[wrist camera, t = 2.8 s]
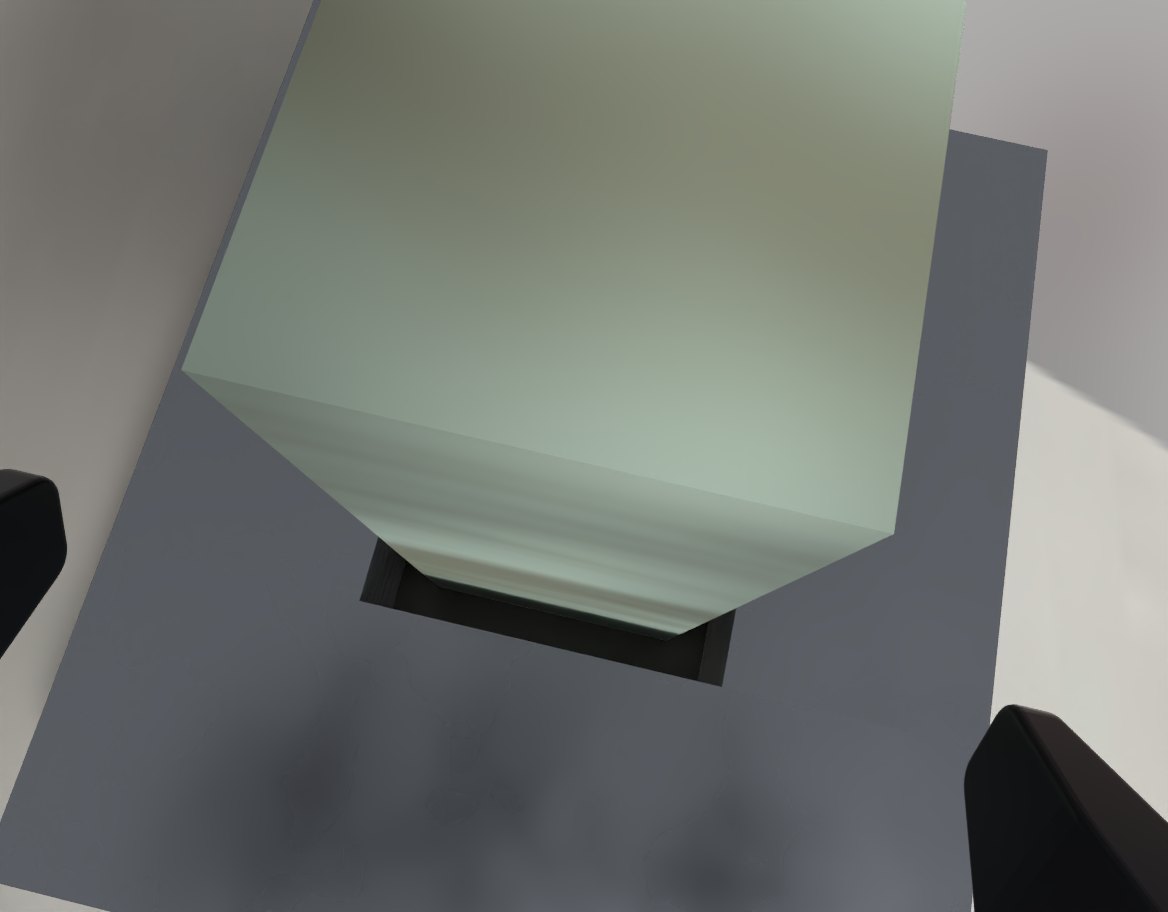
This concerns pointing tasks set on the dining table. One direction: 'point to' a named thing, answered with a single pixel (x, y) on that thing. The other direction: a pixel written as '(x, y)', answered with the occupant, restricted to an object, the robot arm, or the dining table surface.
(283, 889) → the socket plate
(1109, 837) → the robot arm
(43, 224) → the dining table surface
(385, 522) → the square plug
